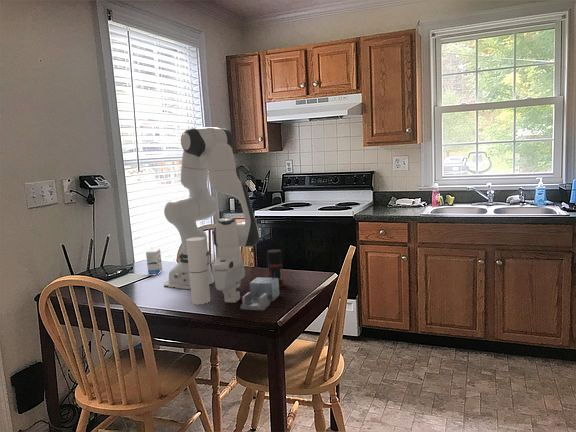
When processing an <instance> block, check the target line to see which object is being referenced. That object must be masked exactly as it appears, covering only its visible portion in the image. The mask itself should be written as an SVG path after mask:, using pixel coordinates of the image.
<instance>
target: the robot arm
mask: <svg viewBox="0 0 576 432" xmlns="http://www.w3.org/2000/svg"><path fill="white" fill-rule="evenodd" d="M180 144H181V148H182V149H183V151H182V157H181V167H180V168H181V169H180V183H181V185H182V186H183V187H184V188H186V189H187V190H188V194H189V196H186V197H179V198H175V199H173V200H170V201H167V203H166V204H165V206H164V211H163V213H164V214H163V215H164V217H165V219H166V221H168V223H170V224H172V225H173V226H174V227H175V228H176V229H177V231H178V234H179V236H180V240H181V246H182V253H181V254H179V255H178V256H177V257H178V258H177V259H179V262H178V263H177V264H175V265H174V267H172V269H171V270H170V271H169V273H168V279H167V280H166V281H165V282H164V283H163V287H164V286H168V287H167V288H173V287H175V288H174V289H182V290H191V287H190V277H189V266H188V255H187V245H186V239H189V238H195V237H204V238H205V245H206V256H207V267H208V279H209V286H210V285H212V284H214V286H215V289H216V290H217V291H221V292H222V293H223V296H224V298H225V299H229V298H230V294H229V292H228V290H229V287H231V286H232V285H233V284H239V288H241V282H242V281H241V280H242V279H243V278H245V275H246V272H245V271H246V270H245V264H244V260H243V259H242V254H241V248H242V247H245V248H246V247H247V248H248V247H255V246H256V245H257V244H259V241H260V238H261V235H260V229H259V226H258V224H257V222H256V219H255V213H254V210H253V207H252V202H251V199H250V195H249V191H248V189H247V187H246V184H245V183H244V182H243V181H241V180H240V179H239V177H238V174H237V168H236V161H235V156H234V152H233V149H232V148H233V145H234V137H233V134H232V132H231V131H230V130H229V129H227V128H225V127H213V126H206V127H196V128H195V127H190V128H186V129H185V130H184V131H183V132H182V134H181V137H180ZM208 182H209V185H210V186H211V188H212V189H213V190H215V191H216V192H218V193H221V194H224V195H227V196H230V197H233V198H235V199H236V200H238V201H239V203H240V206H241V209H242V214H243V217H244V221H242V222H237V219H236V218H233V217H221V218H219V219H217V220H216V223H215V227H214V229H213V230H212V239H213V245H214V246H215V247H217V253H216V254H217V257H216V259H215V261H214V262H213V264H212V268H211V256H210V251H209V246H208V236H207V233H206V232H205V231H204V230H201V229H200V228H199V227H198V225H197V221H203V220H208V219H209V218H212V217H213V216H215V215H216V214H217V212H218V209H219V208H218V203H217V200H216V198H215V197H214V196H212V195H211V193H210V191H209V187H208ZM240 247H241V248H240ZM212 270H214V273H213V272H212ZM225 299H224V300H225Z"/></svg>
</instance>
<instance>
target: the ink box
mask: <svg viewBox="0 0 576 432" xmlns="http://www.w3.org/2000/svg"><path fill="white" fill-rule="evenodd" d="M145 256H146V257H145V258H146V265H147V271H148V272H147V273H148V275H149V274H158V273H159V272H160V271H161V270H162V271H163V264H162V255H161V248H150V249H148V250H147V251H146V252H145ZM159 274H160V273H159ZM159 274H158V275H159Z"/></svg>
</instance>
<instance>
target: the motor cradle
mask: <svg viewBox="0 0 576 432" xmlns="http://www.w3.org/2000/svg"><path fill="white" fill-rule="evenodd" d="M279 296H280V287H279V281H278V278H269V277H259V276H257V277H255V278H254V279H252V281H250V282H249V291H248V292H247V293H245V294H244V295H243V296H241V302H242V303H241V304H240V310H246V311H247V310H248V311H265V310H266V309H267V308H268V307H269V306H270V305H271V302H274V301H275V300H276V299H277V298H278V297H279Z"/></svg>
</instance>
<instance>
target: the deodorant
mask: <svg viewBox="0 0 576 432" xmlns="http://www.w3.org/2000/svg"><path fill="white" fill-rule="evenodd" d="M266 256H267V269H268V278H278V281H279V288H282V287H284V273H283V259H282V250H281V249H279V248H278V249H277V248H276V249H269V250H267V251H266Z"/></svg>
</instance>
